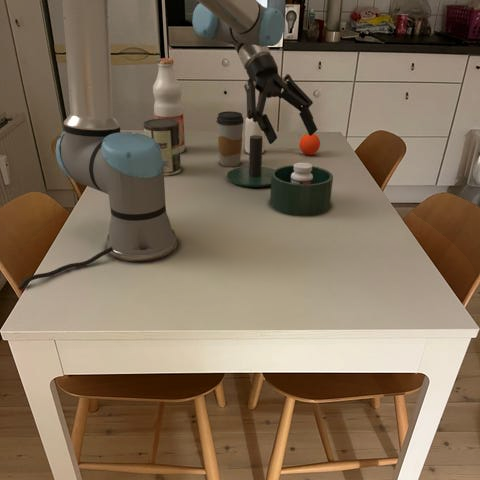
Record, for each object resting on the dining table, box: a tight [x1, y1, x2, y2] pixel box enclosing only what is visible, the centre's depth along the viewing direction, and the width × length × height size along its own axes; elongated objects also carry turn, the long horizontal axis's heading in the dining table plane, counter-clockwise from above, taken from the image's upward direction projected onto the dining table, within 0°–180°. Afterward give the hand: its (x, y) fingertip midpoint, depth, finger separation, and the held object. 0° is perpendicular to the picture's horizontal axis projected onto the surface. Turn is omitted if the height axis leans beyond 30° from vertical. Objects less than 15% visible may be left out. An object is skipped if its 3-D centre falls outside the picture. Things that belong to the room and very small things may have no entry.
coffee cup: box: [216, 110, 245, 167], centre depth 159 cm, size 8×8×15 cm
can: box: [244, 113, 266, 155], centre depth 170 cm, size 6×6×12 cm
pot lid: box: [226, 135, 276, 188], centre depth 148 cm, size 17×17×12 cm
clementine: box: [298, 132, 321, 156], centre depth 170 cm, size 8×7×7 cm
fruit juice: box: [152, 57, 186, 154], centre depth 166 cm, size 9×9×28 cm
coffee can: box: [142, 118, 182, 177], centre depth 153 cm, size 10×10×14 cm
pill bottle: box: [290, 162, 313, 184], centre depth 133 cm, size 6×6×10 cm
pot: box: [269, 164, 334, 217], centre depth 134 cm, size 16×16×8 cm
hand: (294, 136), depth 129 cm, fingers open, 13 cm apart
